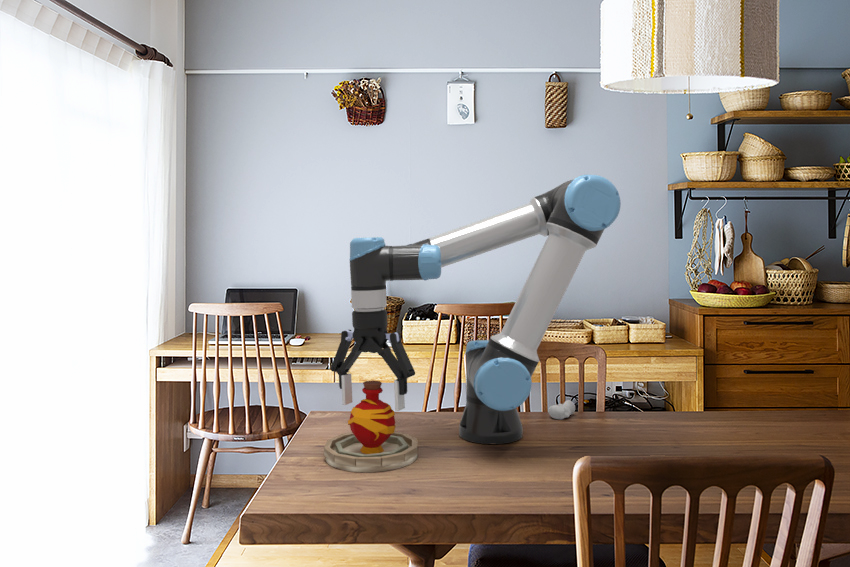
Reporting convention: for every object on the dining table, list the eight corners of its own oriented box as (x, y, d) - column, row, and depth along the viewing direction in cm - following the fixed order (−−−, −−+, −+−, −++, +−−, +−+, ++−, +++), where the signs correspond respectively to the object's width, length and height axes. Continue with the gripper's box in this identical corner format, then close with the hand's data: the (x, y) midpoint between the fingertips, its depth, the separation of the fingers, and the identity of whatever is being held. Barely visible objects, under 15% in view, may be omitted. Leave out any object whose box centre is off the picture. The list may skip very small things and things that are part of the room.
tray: (433, 449, 148) (433, 437, 148) (386, 478, 130) (385, 464, 130) (359, 437, 157) (359, 426, 157) (306, 462, 140) (305, 449, 140)
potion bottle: (338, 449, 144) (338, 382, 143) (375, 440, 151) (376, 375, 150) (368, 462, 136) (368, 390, 135) (406, 451, 143) (406, 383, 142)
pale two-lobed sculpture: (557, 426, 170) (543, 416, 174) (579, 420, 174) (565, 410, 178) (560, 411, 169) (547, 401, 173) (582, 406, 173) (569, 396, 177)
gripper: (428, 308, 139) (431, 407, 140) (333, 306, 151) (336, 397, 152) (410, 312, 132) (414, 416, 134) (312, 309, 144) (316, 405, 146)
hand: (373, 406), depth 143 cm, fingers open, 13 cm apart
